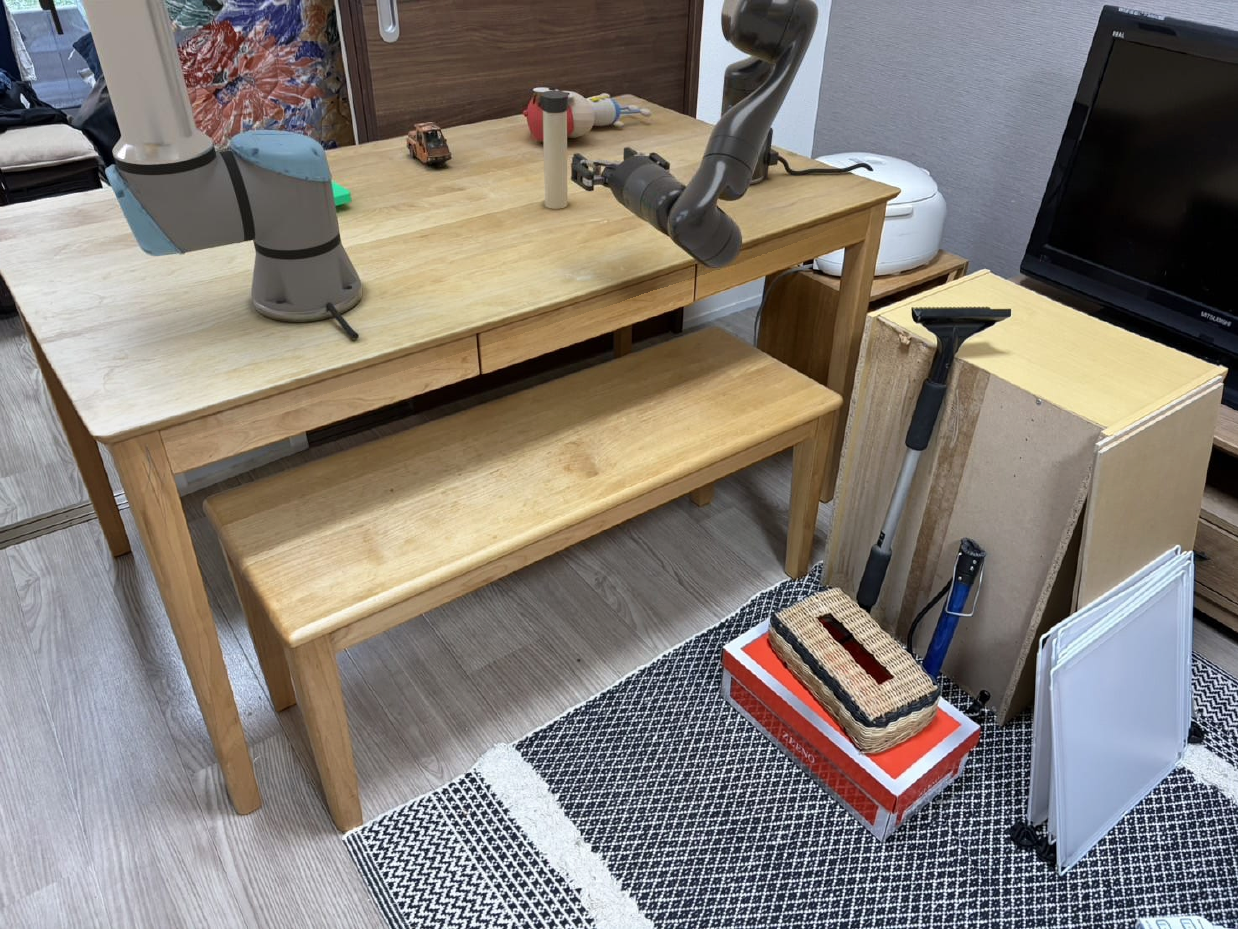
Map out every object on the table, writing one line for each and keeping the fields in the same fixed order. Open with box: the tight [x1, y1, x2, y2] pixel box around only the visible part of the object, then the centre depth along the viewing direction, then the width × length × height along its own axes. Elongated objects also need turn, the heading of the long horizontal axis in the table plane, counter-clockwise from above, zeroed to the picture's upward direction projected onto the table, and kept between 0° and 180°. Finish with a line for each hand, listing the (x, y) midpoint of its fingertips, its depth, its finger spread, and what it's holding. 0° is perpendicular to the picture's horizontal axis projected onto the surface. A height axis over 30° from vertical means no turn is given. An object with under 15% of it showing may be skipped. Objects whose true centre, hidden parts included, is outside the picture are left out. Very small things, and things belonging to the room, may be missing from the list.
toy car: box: [405, 121, 453, 169], centre depth 181 cm, size 6×12×7 cm, turn 39°
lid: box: [541, 90, 568, 112], centre depth 156 cm, size 5×5×2 cm
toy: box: [522, 86, 652, 143], centre depth 198 cm, size 18×10×30 cm
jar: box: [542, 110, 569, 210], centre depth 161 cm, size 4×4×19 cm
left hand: (108, 29), depth 146 cm, fingers open, 13 cm apart
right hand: (600, 156), depth 144 cm, fingers open, 8 cm apart
